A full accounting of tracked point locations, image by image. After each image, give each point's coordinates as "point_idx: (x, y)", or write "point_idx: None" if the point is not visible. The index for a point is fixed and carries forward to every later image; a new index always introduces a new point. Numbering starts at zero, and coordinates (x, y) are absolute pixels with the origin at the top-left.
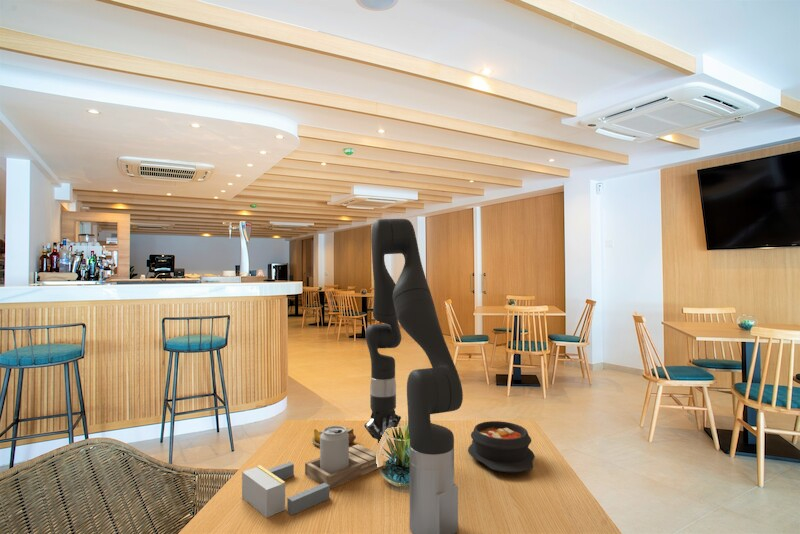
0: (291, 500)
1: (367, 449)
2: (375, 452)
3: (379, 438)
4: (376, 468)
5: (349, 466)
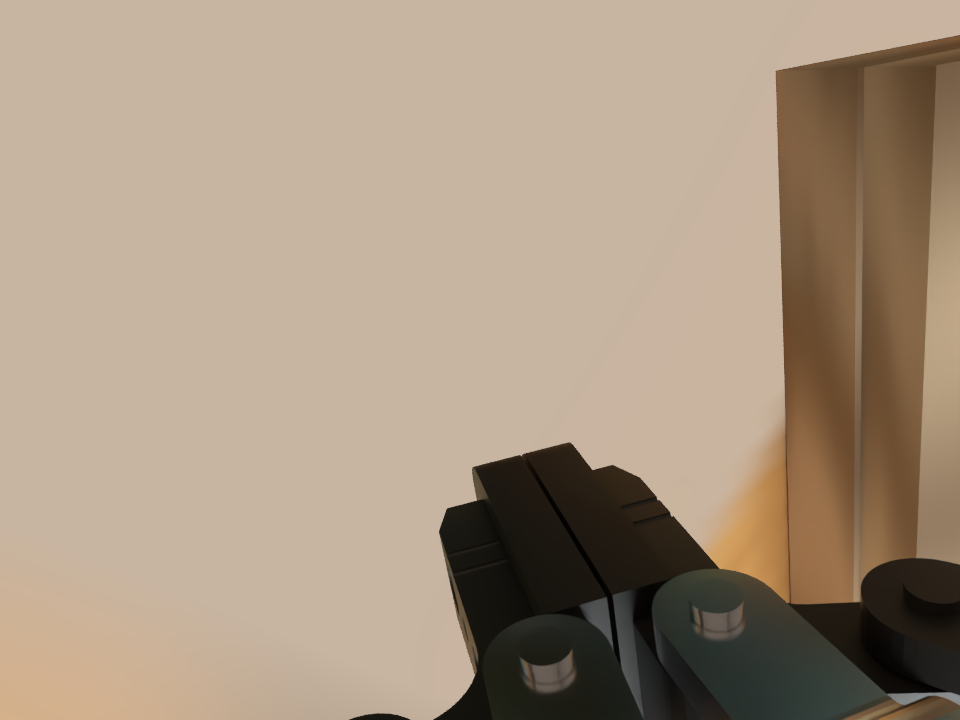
0: None
1: (946, 518)
2: (944, 306)
3: (930, 575)
4: (936, 41)
5: None
